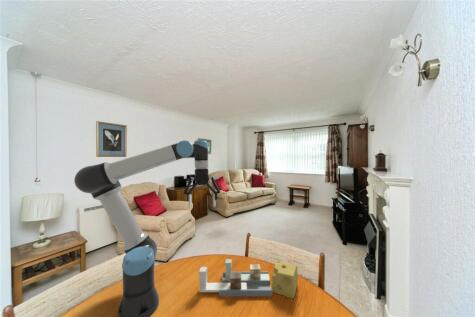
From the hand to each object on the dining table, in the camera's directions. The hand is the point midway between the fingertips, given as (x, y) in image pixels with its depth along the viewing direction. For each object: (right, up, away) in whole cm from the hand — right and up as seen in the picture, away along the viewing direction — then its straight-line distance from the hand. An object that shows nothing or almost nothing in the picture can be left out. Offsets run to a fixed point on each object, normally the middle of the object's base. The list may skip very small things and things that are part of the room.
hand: (202, 206), depth 99 cm
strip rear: (+25, -35, -8) cm, 43 cm away
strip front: (+13, -35, -15) cm, 40 cm away
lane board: (+24, -36, -12) cm, 44 cm away
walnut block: (+19, -34, -15) cm, 41 cm away
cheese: (+43, -36, -15) cm, 57 cm away
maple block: (+29, -34, -9) cm, 45 cm away
